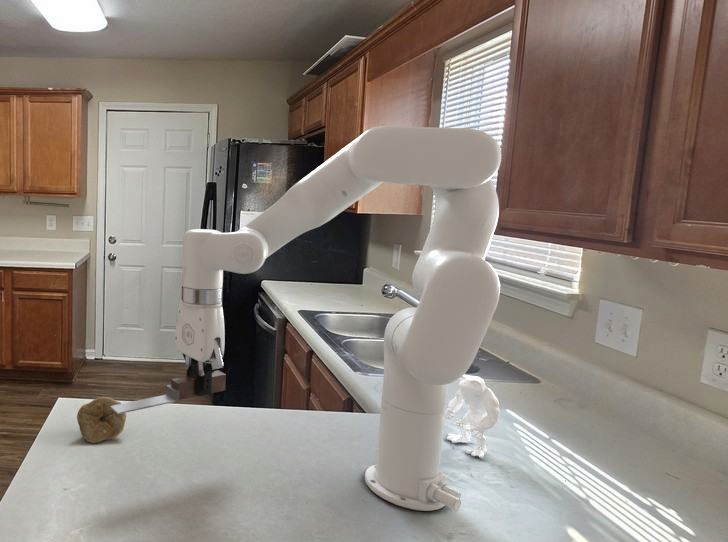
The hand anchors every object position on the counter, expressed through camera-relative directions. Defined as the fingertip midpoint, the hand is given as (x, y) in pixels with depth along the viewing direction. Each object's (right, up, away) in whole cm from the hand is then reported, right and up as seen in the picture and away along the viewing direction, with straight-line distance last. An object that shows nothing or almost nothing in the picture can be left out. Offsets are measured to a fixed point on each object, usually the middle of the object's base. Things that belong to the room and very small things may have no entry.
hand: (198, 390), depth 94 cm
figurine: (+56, -14, +7) cm, 58 cm away
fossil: (-19, -11, +8) cm, 23 cm away
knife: (-5, -1, -3) cm, 6 cm away
